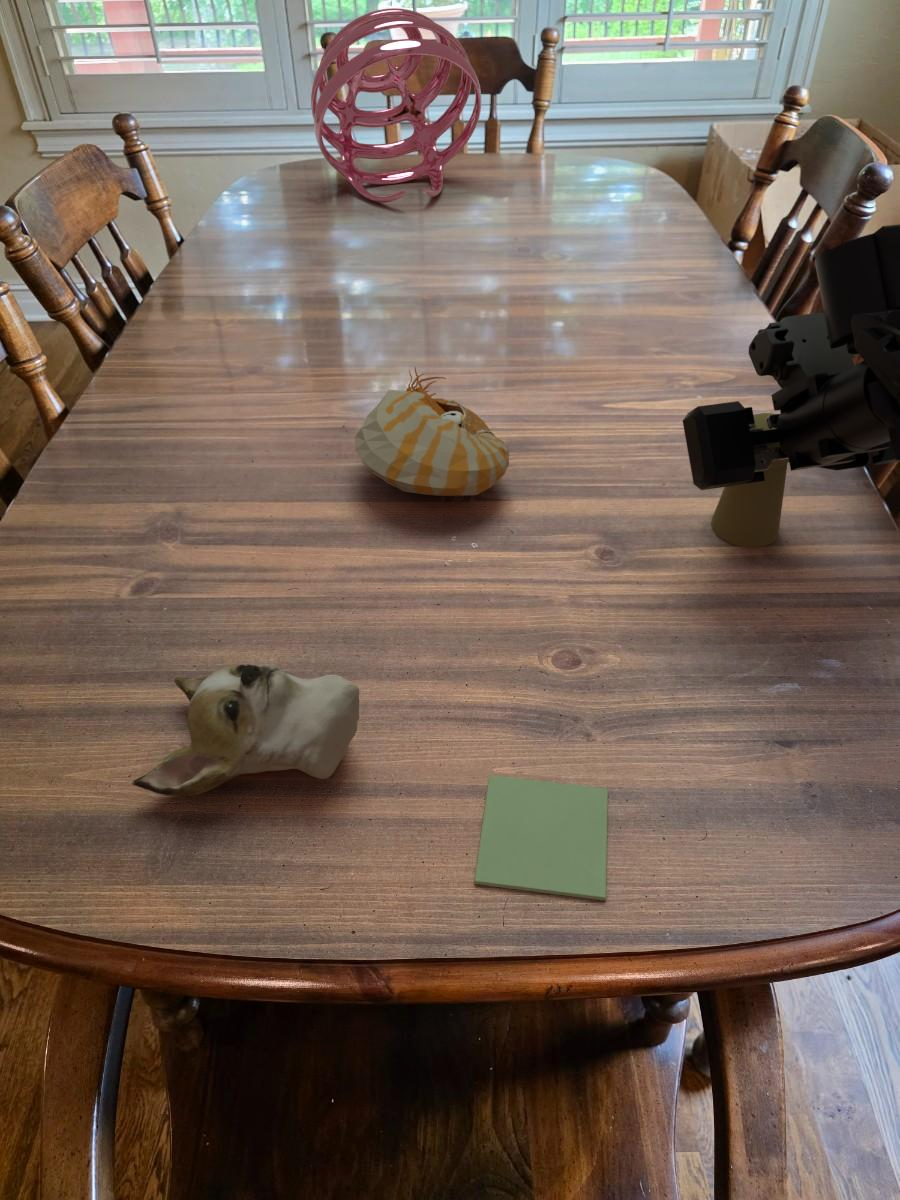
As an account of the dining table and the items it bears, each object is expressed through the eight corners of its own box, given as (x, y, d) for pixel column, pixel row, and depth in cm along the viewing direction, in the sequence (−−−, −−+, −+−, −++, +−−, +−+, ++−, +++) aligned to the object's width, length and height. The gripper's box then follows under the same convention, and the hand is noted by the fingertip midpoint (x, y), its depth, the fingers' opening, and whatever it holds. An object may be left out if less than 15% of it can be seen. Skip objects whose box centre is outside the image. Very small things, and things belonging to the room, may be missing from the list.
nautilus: (372, 412, 97) (506, 421, 97) (343, 518, 80) (505, 529, 80) (371, 344, 92) (512, 353, 92) (339, 442, 75) (512, 453, 75)
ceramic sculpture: (340, 736, 51) (97, 734, 52) (361, 821, 57) (142, 818, 58) (366, 613, 59) (154, 615, 60) (382, 699, 65) (188, 699, 66)
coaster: (607, 791, 58) (608, 788, 58) (605, 901, 52) (605, 897, 52) (489, 778, 59) (489, 774, 59) (474, 884, 53) (474, 881, 53)
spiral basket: (494, 86, 125) (445, -60, 131) (310, 148, 127) (271, 1, 133) (506, 208, 152) (466, 82, 158) (355, 257, 155) (321, 131, 160)
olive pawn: (697, 517, 81) (720, 413, 73) (749, 501, 83) (776, 397, 75) (739, 554, 77) (767, 448, 69) (793, 536, 78) (826, 430, 71)
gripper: (958, 283, 62) (833, 356, 78) (716, 310, 60) (637, 381, 75) (987, 434, 62) (856, 478, 77) (745, 468, 59) (659, 507, 75)
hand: (753, 458), depth 76 cm, fingers closed on olive pawn, 5 cm apart
